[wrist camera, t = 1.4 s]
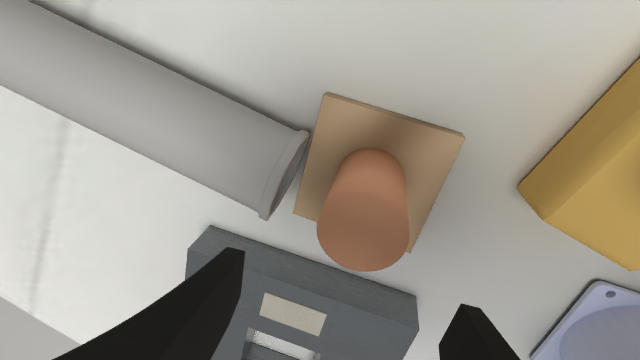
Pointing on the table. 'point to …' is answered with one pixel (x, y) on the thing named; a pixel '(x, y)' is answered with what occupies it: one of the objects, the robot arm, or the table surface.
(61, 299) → the table surface
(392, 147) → the tan square tile
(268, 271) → the grey square slab
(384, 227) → the peg
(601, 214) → the rubber stamp
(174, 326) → the robot arm
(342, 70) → the table surface
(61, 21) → the tube
